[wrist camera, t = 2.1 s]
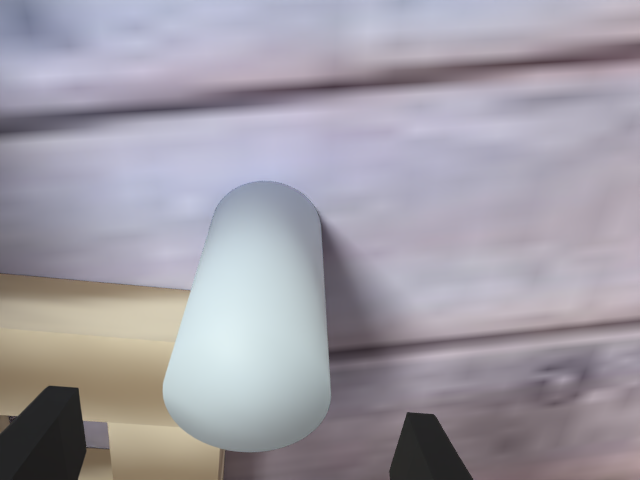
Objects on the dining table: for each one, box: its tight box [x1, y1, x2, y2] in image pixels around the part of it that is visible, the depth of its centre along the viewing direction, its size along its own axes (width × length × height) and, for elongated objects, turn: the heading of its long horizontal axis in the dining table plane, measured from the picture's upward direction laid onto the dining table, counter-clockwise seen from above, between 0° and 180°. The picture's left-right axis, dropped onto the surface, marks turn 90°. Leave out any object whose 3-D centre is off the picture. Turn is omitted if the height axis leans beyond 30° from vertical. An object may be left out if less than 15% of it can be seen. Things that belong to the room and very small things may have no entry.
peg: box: [163, 181, 331, 452], centre depth 16 cm, size 4×4×8 cm
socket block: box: [0, 273, 225, 480], centre depth 22 cm, size 15×15×5 cm
